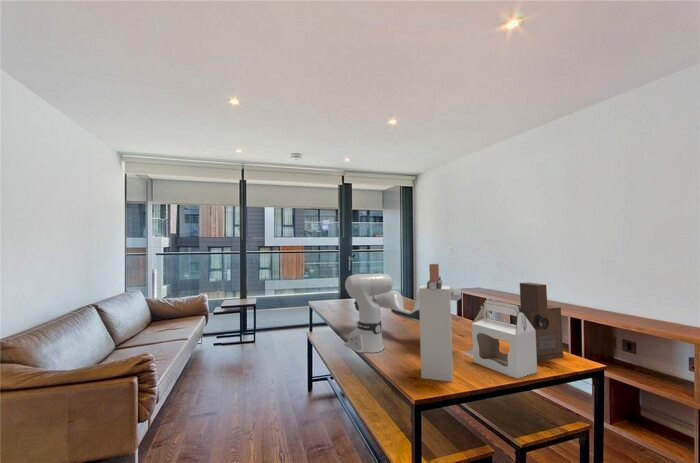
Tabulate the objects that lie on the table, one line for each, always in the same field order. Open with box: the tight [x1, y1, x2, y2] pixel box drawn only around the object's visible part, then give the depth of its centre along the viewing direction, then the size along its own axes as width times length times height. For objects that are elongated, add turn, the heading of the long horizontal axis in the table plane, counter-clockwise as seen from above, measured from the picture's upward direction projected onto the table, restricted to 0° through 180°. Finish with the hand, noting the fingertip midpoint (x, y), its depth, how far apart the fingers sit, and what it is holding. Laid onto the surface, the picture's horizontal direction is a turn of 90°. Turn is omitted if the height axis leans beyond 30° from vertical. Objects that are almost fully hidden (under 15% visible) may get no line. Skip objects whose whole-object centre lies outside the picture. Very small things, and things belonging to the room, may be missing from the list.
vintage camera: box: [512, 281, 565, 363], centre depth 149 cm, size 19×14×35 cm
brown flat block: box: [429, 263, 442, 291], centre depth 133 cm, size 26×4×10 cm, turn 161°
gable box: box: [471, 299, 538, 380], centre depth 138 cm, size 22×13×28 cm, turn 28°
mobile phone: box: [463, 349, 473, 357], centre depth 157 cm, size 8×1×15 cm
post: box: [418, 279, 454, 383], centre depth 131 cm, size 10×12×38 cm
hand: (439, 287), depth 152 cm, fingers open, 8 cm apart
